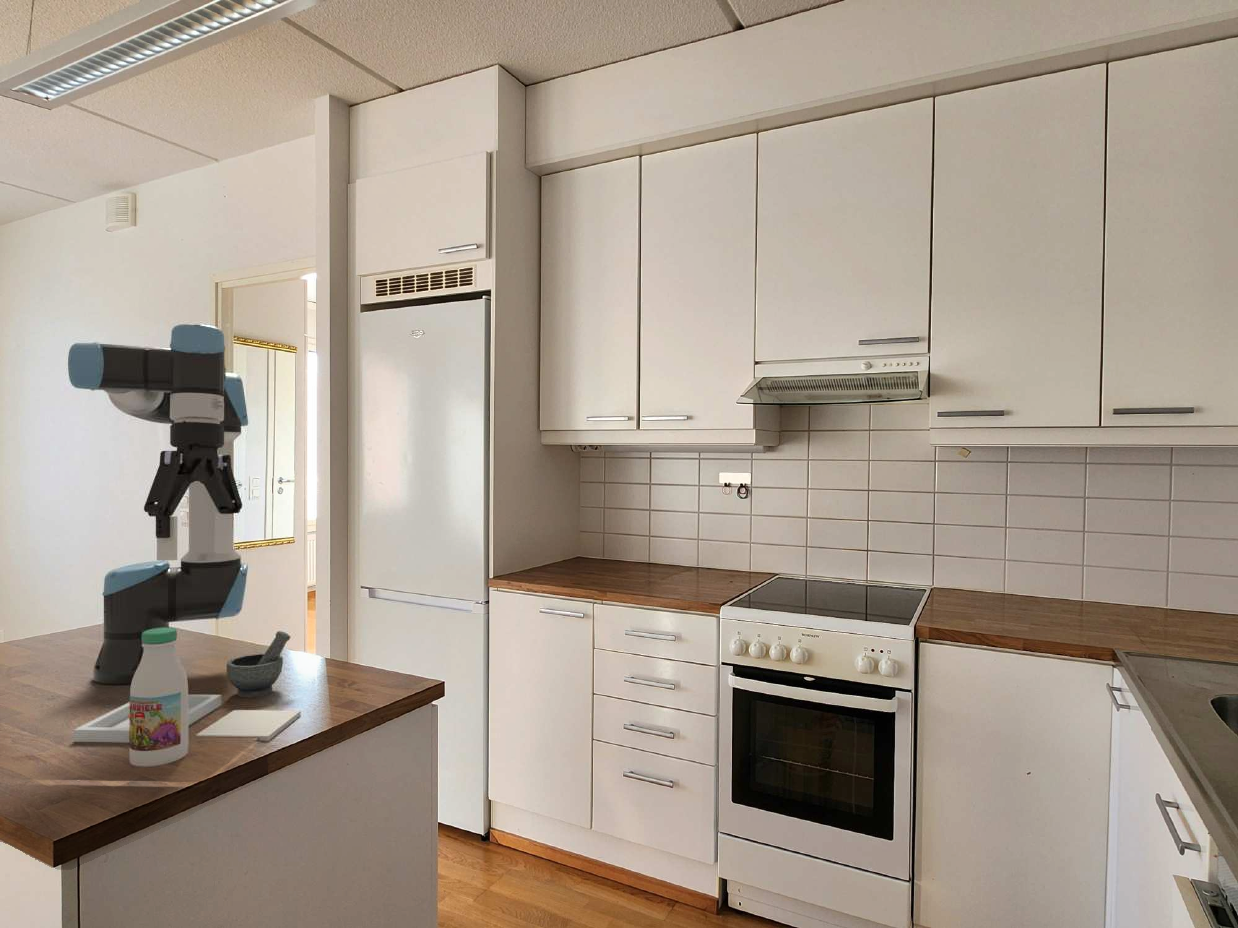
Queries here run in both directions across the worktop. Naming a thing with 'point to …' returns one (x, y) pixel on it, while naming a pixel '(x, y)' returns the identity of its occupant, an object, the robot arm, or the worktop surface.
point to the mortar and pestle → (258, 669)
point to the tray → (117, 721)
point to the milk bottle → (158, 702)
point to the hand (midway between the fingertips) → (196, 556)
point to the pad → (251, 724)
